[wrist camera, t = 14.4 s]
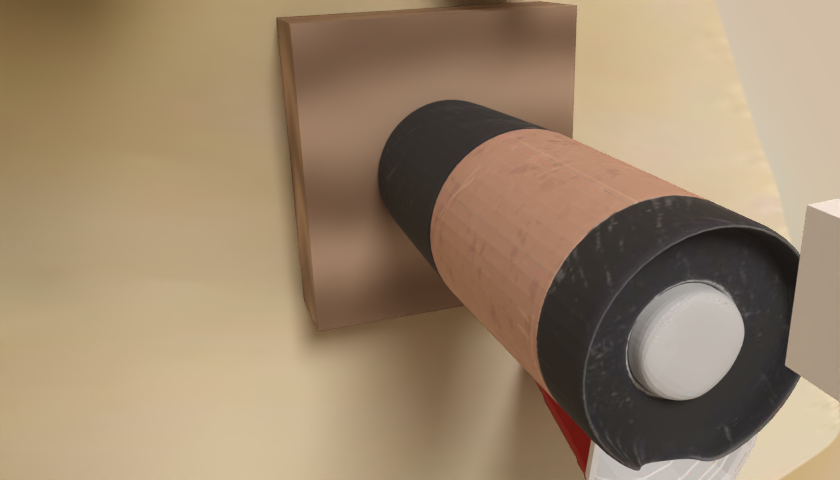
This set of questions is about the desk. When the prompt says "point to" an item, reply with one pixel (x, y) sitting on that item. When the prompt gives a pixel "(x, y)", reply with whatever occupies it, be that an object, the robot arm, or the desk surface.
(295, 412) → the desk surface
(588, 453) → the plastic cup
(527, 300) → the travel mug
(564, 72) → the walnut stand
